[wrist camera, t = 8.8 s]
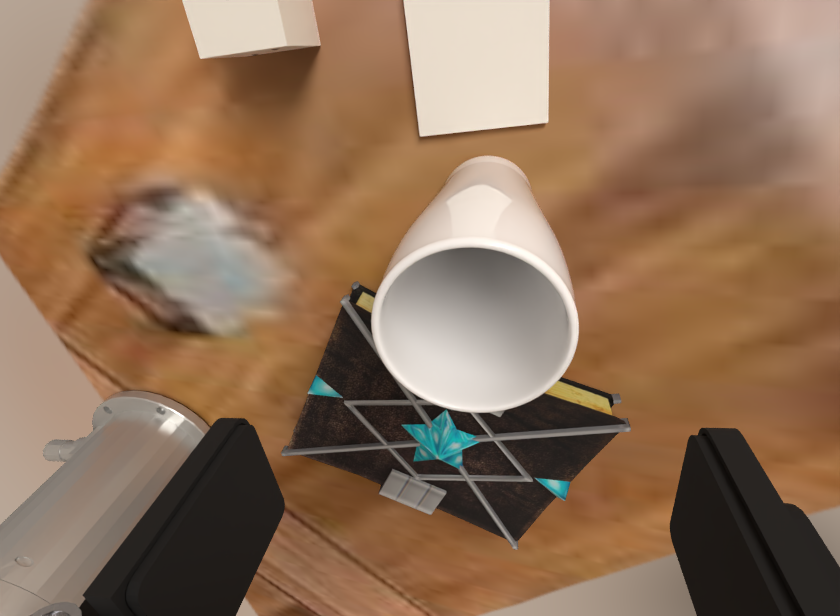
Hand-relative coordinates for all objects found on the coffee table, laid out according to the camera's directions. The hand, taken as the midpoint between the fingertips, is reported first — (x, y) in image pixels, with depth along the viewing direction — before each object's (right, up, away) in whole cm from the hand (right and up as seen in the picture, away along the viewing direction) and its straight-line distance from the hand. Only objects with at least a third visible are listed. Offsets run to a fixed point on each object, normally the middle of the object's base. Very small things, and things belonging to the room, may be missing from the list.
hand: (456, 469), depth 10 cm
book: (+1, -5, +27) cm, 28 cm away
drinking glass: (+3, +10, +17) cm, 20 cm away
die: (-9, +20, +14) cm, 26 cm away
